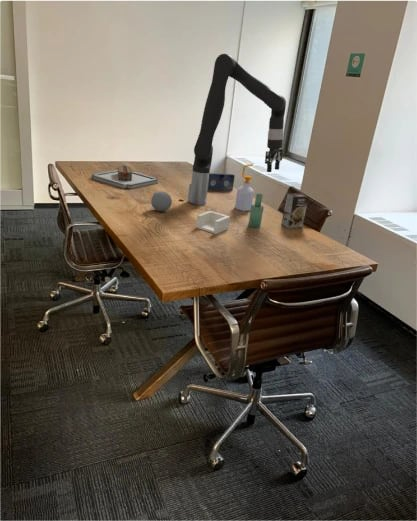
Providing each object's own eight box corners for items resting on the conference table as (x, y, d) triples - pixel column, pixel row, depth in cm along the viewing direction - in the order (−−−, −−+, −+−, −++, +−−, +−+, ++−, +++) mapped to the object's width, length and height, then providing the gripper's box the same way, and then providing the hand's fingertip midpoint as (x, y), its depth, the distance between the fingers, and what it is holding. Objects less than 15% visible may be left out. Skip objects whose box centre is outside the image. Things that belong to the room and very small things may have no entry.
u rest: (195, 227, 206) (197, 215, 203) (208, 222, 214) (210, 210, 212) (216, 234, 201) (217, 221, 198) (228, 228, 209) (230, 216, 207)
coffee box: (288, 228, 221) (294, 196, 215) (280, 224, 227) (286, 193, 220) (302, 227, 226) (309, 196, 219) (295, 223, 231) (301, 192, 224)
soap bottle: (250, 212, 239) (257, 166, 230) (233, 209, 241) (240, 163, 231) (251, 207, 247) (259, 163, 238) (235, 205, 249) (242, 161, 239)
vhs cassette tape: (231, 189, 280) (233, 174, 276) (232, 191, 278) (235, 175, 274) (203, 188, 274) (205, 172, 270) (205, 190, 272) (207, 174, 268)
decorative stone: (159, 206, 229) (161, 187, 225) (174, 211, 224) (176, 192, 220) (146, 210, 221) (147, 190, 217) (161, 215, 216) (163, 195, 212)
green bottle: (246, 225, 217) (251, 193, 211) (251, 223, 222) (256, 191, 216) (256, 229, 214) (262, 196, 208) (262, 226, 219) (267, 194, 213)
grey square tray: (160, 184, 274) (161, 171, 271) (127, 191, 250) (127, 178, 247) (123, 173, 288) (124, 161, 285) (88, 179, 264) (89, 166, 261)
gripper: (275, 136, 229) (272, 167, 235) (261, 138, 218) (259, 171, 225) (288, 137, 225) (285, 169, 231) (275, 140, 214) (273, 173, 221)
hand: (273, 170), depth 228 cm, fingers open, 8 cm apart
